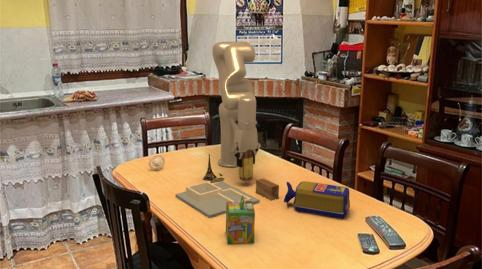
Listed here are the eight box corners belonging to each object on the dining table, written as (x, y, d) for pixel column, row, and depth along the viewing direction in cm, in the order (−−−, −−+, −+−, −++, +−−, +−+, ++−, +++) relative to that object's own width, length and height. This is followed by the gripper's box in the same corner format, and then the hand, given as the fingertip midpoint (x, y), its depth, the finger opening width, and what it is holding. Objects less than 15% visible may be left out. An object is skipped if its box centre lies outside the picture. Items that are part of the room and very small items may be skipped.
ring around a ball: (163, 167, 225) (163, 151, 223) (168, 171, 220) (167, 155, 218) (147, 170, 221) (147, 154, 219) (152, 174, 216) (151, 157, 214)
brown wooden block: (263, 191, 197) (263, 178, 196) (278, 198, 190) (279, 185, 188) (255, 193, 195) (256, 179, 194) (271, 201, 187) (271, 187, 186)
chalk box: (225, 231, 161) (225, 192, 157) (251, 231, 162) (252, 191, 158) (227, 245, 153) (227, 203, 149) (254, 244, 153) (255, 202, 149)
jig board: (223, 184, 205) (223, 175, 204) (259, 202, 186) (259, 192, 184) (175, 196, 191) (175, 187, 189) (209, 218, 171) (209, 207, 170)
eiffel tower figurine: (198, 186, 203) (198, 157, 199) (190, 179, 212) (189, 151, 208) (229, 181, 210) (229, 153, 206) (219, 174, 218) (219, 147, 215)
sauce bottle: (255, 177, 205) (256, 134, 199) (249, 182, 199) (250, 138, 194) (241, 175, 208) (242, 132, 202) (235, 180, 202) (236, 136, 196)
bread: (345, 221, 170) (347, 195, 167) (281, 210, 179) (282, 185, 176) (350, 210, 179) (352, 185, 176) (289, 200, 188) (290, 176, 185)
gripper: (256, 120, 204) (255, 158, 209) (224, 126, 194) (224, 166, 199) (268, 124, 198) (266, 163, 204) (235, 130, 188) (235, 172, 194)
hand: (245, 164), depth 201 cm, fingers closed on sauce bottle, 6 cm apart
